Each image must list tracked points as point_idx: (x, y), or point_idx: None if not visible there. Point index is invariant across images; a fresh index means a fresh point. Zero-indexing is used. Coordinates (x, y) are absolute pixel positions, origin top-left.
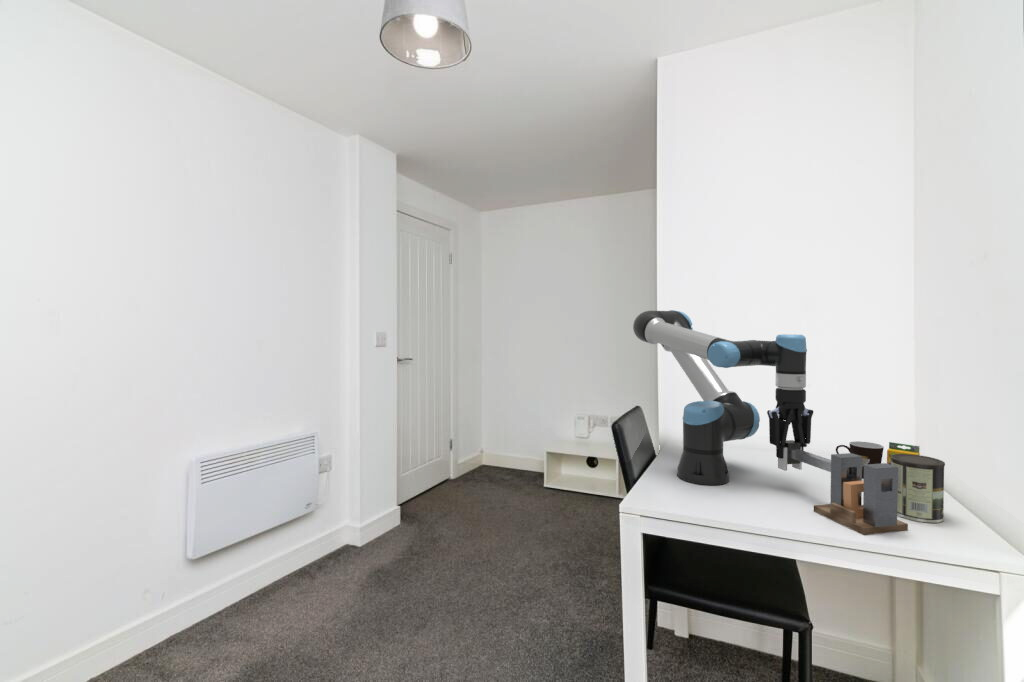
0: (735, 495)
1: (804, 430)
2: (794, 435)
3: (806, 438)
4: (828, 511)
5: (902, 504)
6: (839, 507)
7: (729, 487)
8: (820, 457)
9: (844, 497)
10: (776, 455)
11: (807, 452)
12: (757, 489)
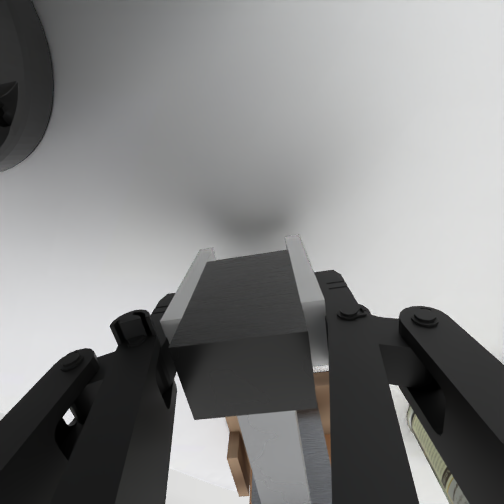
0: (46, 273)
1: (486, 488)
2: (329, 388)
3: (417, 414)
4: (231, 425)
5: (424, 452)
6: (232, 473)
7: (39, 196)
8: (291, 501)
9: (250, 495)
10: (160, 302)
11: (291, 433)
12: (138, 222)
